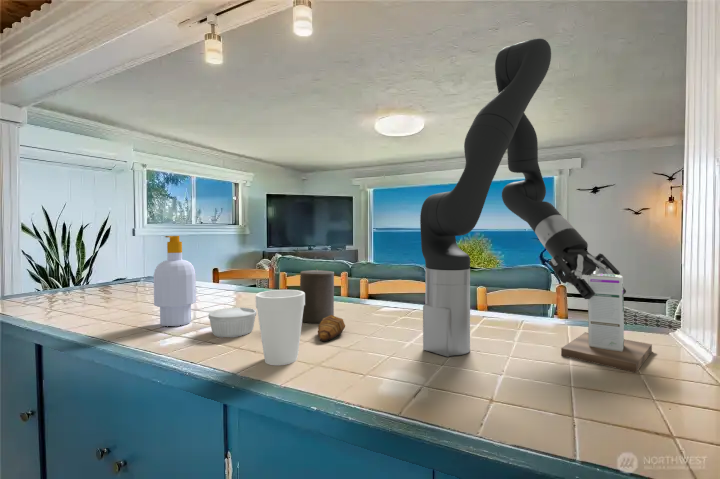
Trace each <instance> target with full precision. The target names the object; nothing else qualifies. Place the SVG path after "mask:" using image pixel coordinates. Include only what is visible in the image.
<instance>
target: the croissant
mask: <svg viewBox="0 0 720 479" xmlns="http://www.w3.org/2000/svg"><path fill="white" fill-rule="evenodd" d="M345 328H346V324H345V321H344V319H343V318H341V317H338V316H335V315H334V316H333V315H330V316H328V317H326V318H323V320H322V321H321V323H318V327H317V334H318V338H319V341H320V342H326V341H331V340H333V339H335V338H337V337H338V336H339V335H341V334H342V333H343V331H344V329H345Z"/></svg>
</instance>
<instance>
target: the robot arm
mask: <svg viewBox="0 0 720 479" xmlns="http://www.w3.org/2000/svg"><path fill="white" fill-rule="evenodd" d="M495 57H496V58H495V62H494V73H495V82H496V86H497V93H498V94H497V95H495V96H494V97H492V99H491V100H489V102H487V103H486V104H485V105H484V106H483V107H482V108H480V110H479V112H478V113H477V114H476V116H475V117H474V119H473V121H472V123H471V125H470V127H469V130H468V131H467V133H466V135H465V139H464V143H463V144H464V146H463V147H464V148H463V149H464V158H465V166H464V169H463V172H462V173H461V176H460V177H459V179H458V181H457V183H456V184H455V186H454V188H453V189H451V191H445V192H438V193H433V194H431V195H429V196H428V197H426V199H425V200H424V202H423V204H422V206H421V209H420V215H419V216H420V217H419V221H420V222H419V224H420V227H419V228H420V244H421V253H422V257H423V258H424V261H425V262H424V263H425V265H424V266H425V285H424V286H425V289H424V290H425V296H424V297H425V298H424V299H425V300H424V301H425V304H424V305H423V306H422V350H424V351H427V352H430V353H433V354H437V355H440V356H444V357H451V356H461V355H466V354H468V353H469V352H471V258H470V255H469V254H468V253H466V252H465V251H464V250H462V249H461V248H460V247H459V245H458V244H457V240H456V239H457V238H456V237H458V236H459V237H460V236H465V235H468V234H469V233H470V232H472V230H474V228H475V227H476V225H477V224H478V222H479V220H480V217H481V214H482V212H483V208H484V206H485V202H486V199H487V196H488V193H489V191H490V189H491V185H492V182H493V180H494V178H495V176H496V173H497V171H498V169H499V166H500V163H501V162H502V159H503V157H504V156H505V154H506V152H507V167H508V170H509V171H510V172H511V173H516V174H523V176H524V180H520V181H513V182H510V183H507V184H506V185H505V186H504V187H503V189H502V190H501V200H502V201H503V204H504V205H505V207H506V208H507V209H508V210H509V211H511V213H512V214H514V215H516V216H517V217H519V218H520V220H521V219H522V220H523V221H524V222H526V223H527V224H528V225H529V227H530V228H531V229H532V231H533V233H534V234H535V235H536V236H537V238H538V240H539V241H540V243H541V244H542V246H543V248H545V250H546V251H547V252H548V254H549V255H550V256H551V259H550V260H549V261H548V264H549V266H550V267H551V268H552V270H553V271H554V273H555V274H556V276H557V277H558V279H559V280H560V282H562V283H563V284H567V283H569V285H571V286H574V287H575V289H576V290H577V292H578V293H579V294H580V295H581V297H582V298H583V299H584V300H588V299H590V298H591V297H593V296H594V295H595V292H594V291H593V290H592V288H591V287H590V286H589V285H588V281H586V279H584V278H583V276H588V277H589V276H590V275H591V274H616V275H620V274H621V272H620V271H619V270H618V268H616V266H614V264H612V262H611V261H610V260H608V258H607V257H606V256H605V255H604V254H603V253H598V254H597V255H592V254H591V253H590V252H589V251H588V247H589V244H588V242H587V241H586V240H585V238H584V237H583V236H582V234H580V233H579V232H578V230H577V228H575V227H574V226H573V225H572V224H571V223H570V222H569V220H567V219H566V218H565V217H564V216H563V215H562V214H561V213H560V211H558V209H556V207H555V206H554V205H553V204H552V203H550V202H549V201H544V199H545V197H546V195H547V187H546V184H545V181H544V179H543V175H542V173H541V168H540V165H539V151H538V150H539V149H538V147H539V146H538V137H537V136H538V135H537V132H536V129H535V128H534V125H533V124H532V123H531V120H530V119H529V118H528V116H527V115H526V113H525V112H526V109H527V108H528V105H530V102H531V101H532V99H533V97H534V95H535V94H536V92H537V91H538V89H539V87H540V86H541V84H542V83H543V81H544V79H545V77H546V76H547V74H548V71H549V68H550V64H551V60H552V48H551V45H550V43H549V42H548V40H546V39H544V38H531V39H528V40H524V41H522V42H521V41H520V42H517V43H514V44H512V45H508V46H505V47H503V48H501V49H500V50H499V52H498V53H497V55H496V56H495ZM596 270H597V271H596ZM563 272H564V273H565V274H564V273H563ZM625 294H627V290H626V289H625V287H624V286H623V296H624V295H625Z"/></svg>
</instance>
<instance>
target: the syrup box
mask: <svg viewBox="0 0 720 479" xmlns="http://www.w3.org/2000/svg"><path fill="white" fill-rule="evenodd" d="M587 283H588V285H589V286H590V287H591V288H592V290H593V291H594V292H595V295H594V296H593V297H591V298H590V299H587V301H588V302H587V307H588V308H587V312H588V314H587V316H588V318H587V319H588V322H587V323H588V324H587V325H588V328H587V329H588V330H587V333H588V339H589V346H591V347H595V348H601V349H607V350H613V351H621V352H622V351H623V347H624V339H625V331H624V330H625V329H624V328H625V326H624V325H625V324H624V323H625V311H624V310H625V307H624V306H625V305H624V301H625V300H624V295H623V287H624V276H623V275H622V274H621V275H620V274H619V275H616V274H603V273H601V274H591V275H590V276H589V275H588V277H587Z"/></svg>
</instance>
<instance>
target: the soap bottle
mask: <svg viewBox="0 0 720 479" xmlns="http://www.w3.org/2000/svg"><path fill="white" fill-rule="evenodd" d="M164 238H169V241H167V242H166V245H167V246H166V248H167V250H166V251H167V252H166V253H167V255H166V256H167V258H166V260H163V261H161V262H160V263H158V264H157V266H156V268H155V269H154V272H153V305H154V307H158V308H159V323H160V326H162V327H165V326H167V328H169V327H168V326H175V327H180V325H181V326H185V325H188V324H189V323H191V321H192V306H191V305H192V304H194V303H197V283H196V282H197V281H196V278H197V277H196V276H197V275H196V270H195V267H194V265H193V264H192V263H191V261H188V260H186V259H183V241H180V240H181V239H180V235H164Z"/></svg>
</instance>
